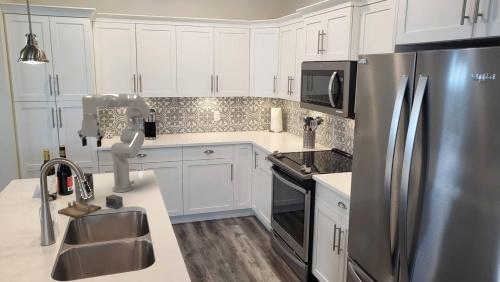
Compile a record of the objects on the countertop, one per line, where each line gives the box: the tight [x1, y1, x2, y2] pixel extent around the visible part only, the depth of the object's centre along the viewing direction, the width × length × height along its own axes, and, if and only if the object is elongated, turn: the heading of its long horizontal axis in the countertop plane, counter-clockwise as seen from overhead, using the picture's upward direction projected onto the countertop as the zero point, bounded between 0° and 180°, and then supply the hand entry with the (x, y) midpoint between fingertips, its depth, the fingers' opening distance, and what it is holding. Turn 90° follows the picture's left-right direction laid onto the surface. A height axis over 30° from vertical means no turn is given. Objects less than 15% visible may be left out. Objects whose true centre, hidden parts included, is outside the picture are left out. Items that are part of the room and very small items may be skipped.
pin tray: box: [57, 200, 102, 219], centre depth 205 cm, size 16×16×4 cm
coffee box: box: [73, 172, 95, 204], centre depth 220 cm, size 9×6×16 cm
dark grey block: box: [105, 194, 124, 210], centre depth 212 cm, size 5×8×6 cm, turn 64°
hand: (92, 146), depth 214 cm, fingers open, 9 cm apart
